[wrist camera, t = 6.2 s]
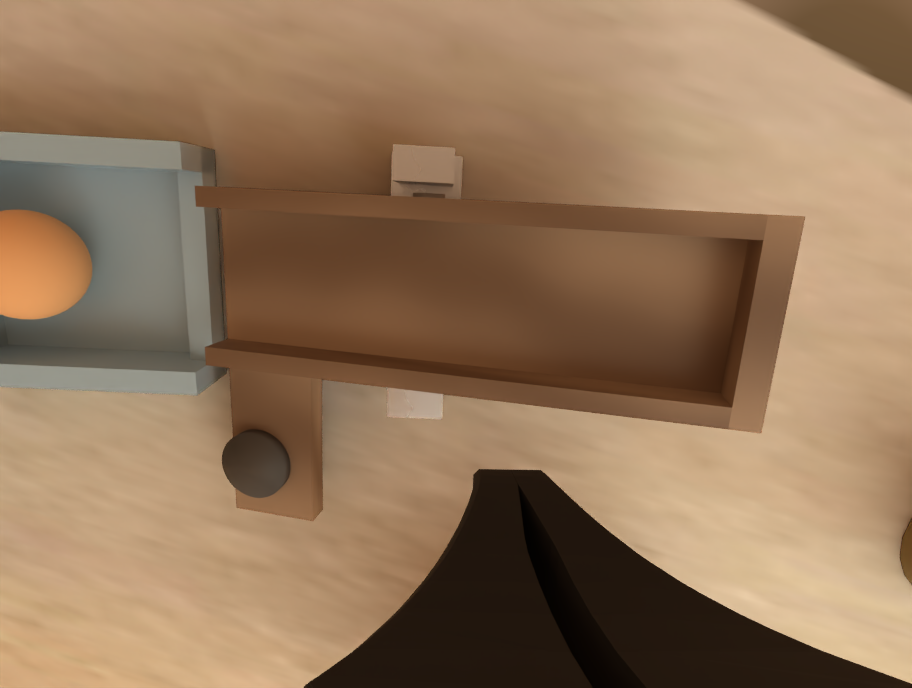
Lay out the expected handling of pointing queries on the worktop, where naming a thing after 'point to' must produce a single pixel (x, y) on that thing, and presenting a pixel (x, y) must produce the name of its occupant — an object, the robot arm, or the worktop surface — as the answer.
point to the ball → (40, 265)
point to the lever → (486, 314)
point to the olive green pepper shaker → (907, 553)
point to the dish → (119, 265)
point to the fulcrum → (412, 175)
